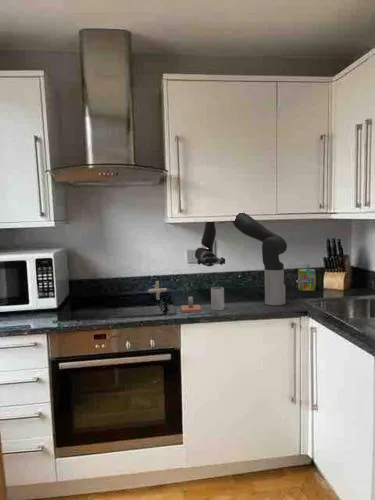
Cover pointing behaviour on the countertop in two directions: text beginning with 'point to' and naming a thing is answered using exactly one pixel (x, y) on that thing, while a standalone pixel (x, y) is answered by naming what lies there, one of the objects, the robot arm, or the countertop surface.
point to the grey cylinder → (217, 298)
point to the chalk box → (307, 279)
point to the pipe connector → (157, 290)
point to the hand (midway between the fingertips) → (213, 263)
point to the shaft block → (190, 306)
